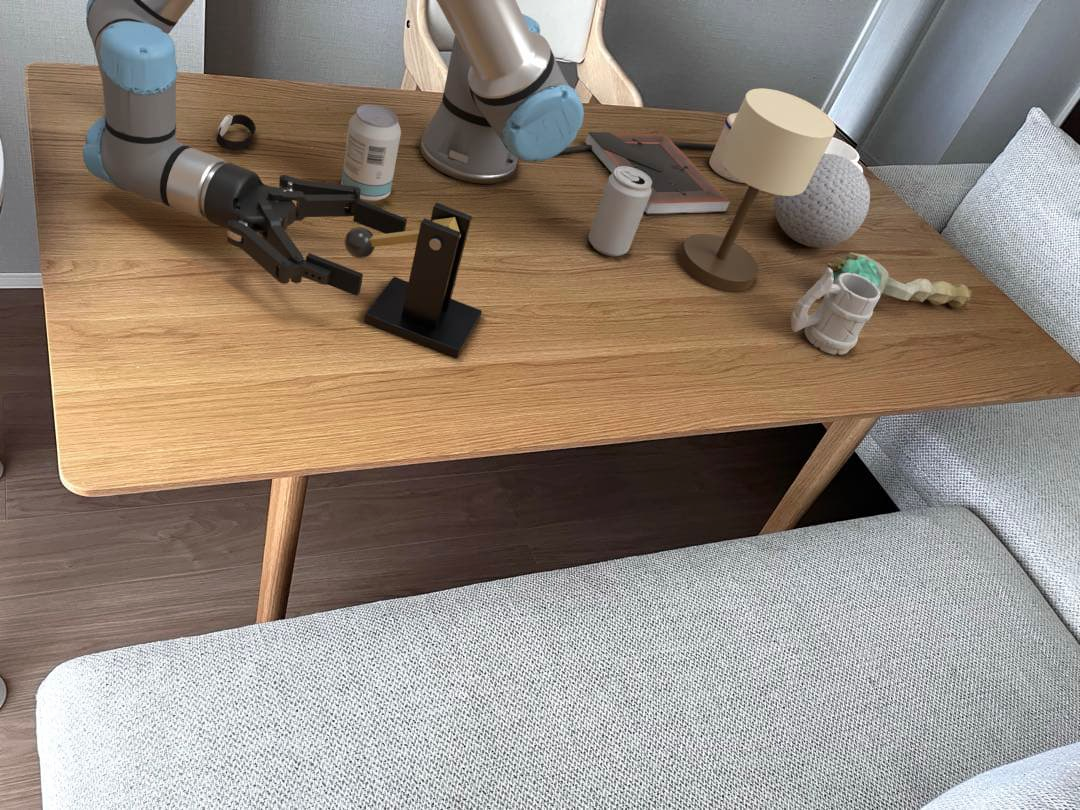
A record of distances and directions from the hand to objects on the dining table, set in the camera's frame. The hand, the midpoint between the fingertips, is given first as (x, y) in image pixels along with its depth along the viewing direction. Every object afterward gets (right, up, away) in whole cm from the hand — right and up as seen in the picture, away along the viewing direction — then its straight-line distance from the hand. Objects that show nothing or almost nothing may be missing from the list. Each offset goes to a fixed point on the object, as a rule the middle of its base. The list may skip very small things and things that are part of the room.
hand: (383, 256), depth 108 cm
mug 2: (+59, -8, +25) cm, 64 cm away
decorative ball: (+63, +10, +47) cm, 79 cm away
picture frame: (+38, +21, +49) cm, 65 cm away
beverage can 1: (-6, +12, +21) cm, 26 cm away
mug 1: (+69, +20, +59) cm, 93 cm away
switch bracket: (+4, -7, +4) cm, 9 cm away
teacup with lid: (+55, +25, +60) cm, 85 cm away
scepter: (+75, 0, +40) cm, 85 cm away
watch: (-25, +20, +22) cm, 39 cm away
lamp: (+46, +4, +32) cm, 56 cm away
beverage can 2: (+28, +6, +28) cm, 41 cm away
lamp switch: (+3, 0, -1) cm, 3 cm away
